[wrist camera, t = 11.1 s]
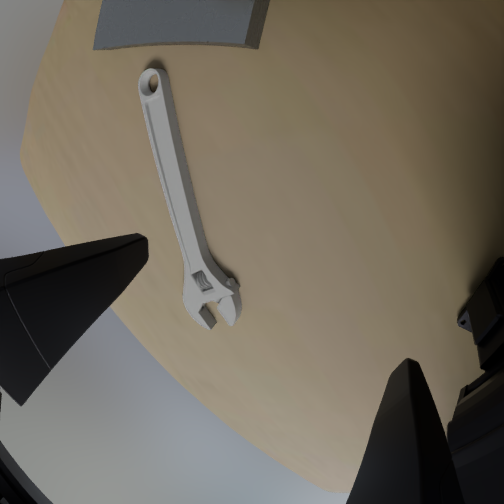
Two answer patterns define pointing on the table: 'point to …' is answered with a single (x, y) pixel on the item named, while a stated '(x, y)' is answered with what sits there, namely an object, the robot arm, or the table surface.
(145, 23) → the slot plate
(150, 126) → the adjustable wrench
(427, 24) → the table surface
